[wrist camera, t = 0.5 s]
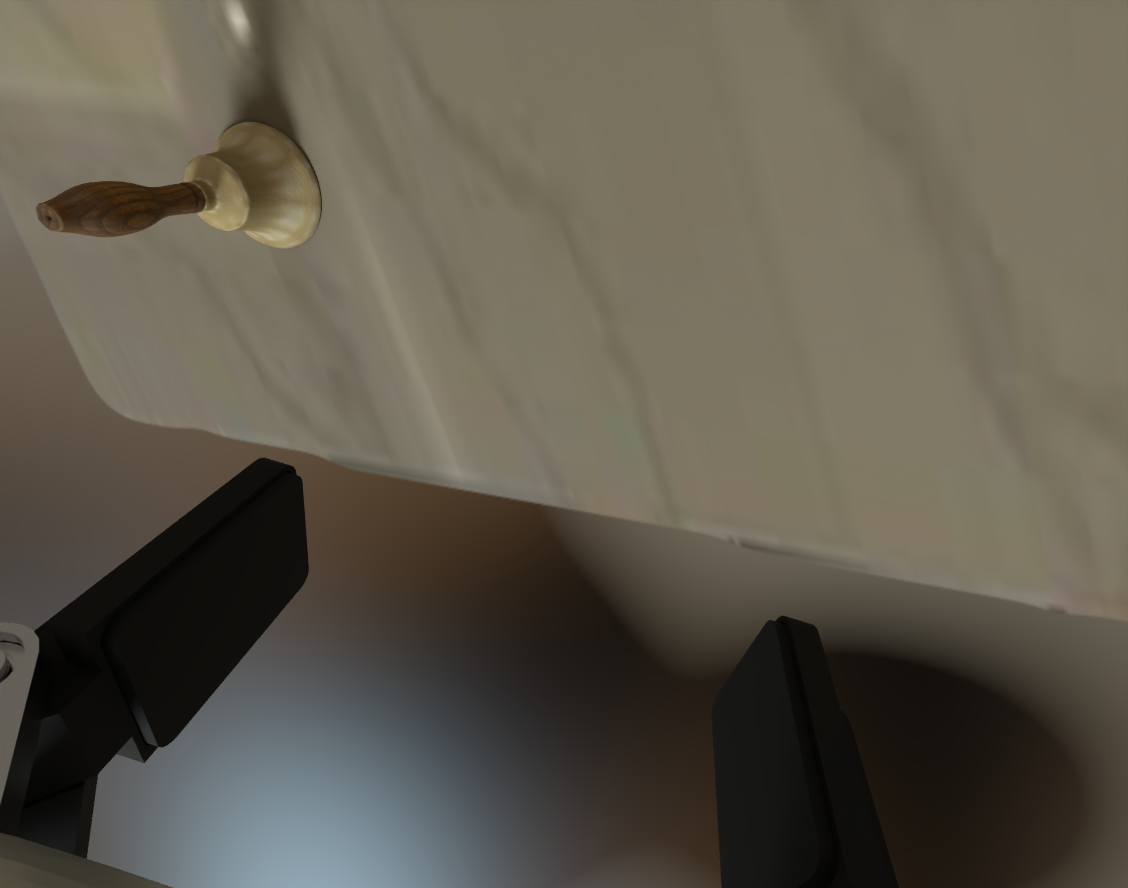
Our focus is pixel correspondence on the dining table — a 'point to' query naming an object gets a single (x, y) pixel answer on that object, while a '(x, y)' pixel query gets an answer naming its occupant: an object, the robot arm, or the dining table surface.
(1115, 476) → the dining table surface
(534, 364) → the dining table surface
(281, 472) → the robot arm
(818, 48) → the dining table surface
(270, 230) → the hand bell
